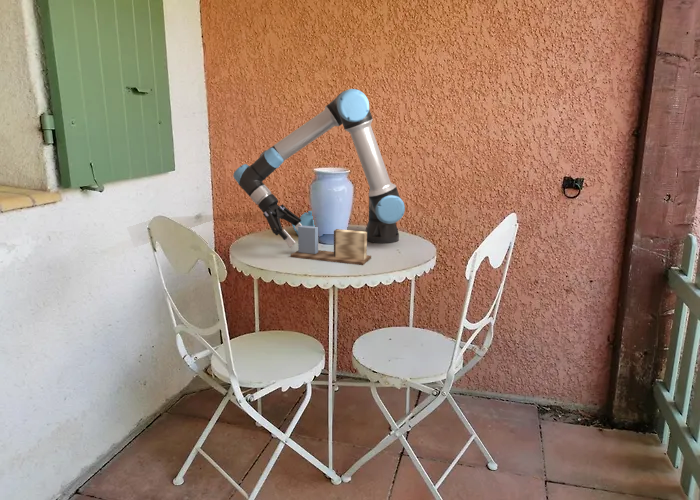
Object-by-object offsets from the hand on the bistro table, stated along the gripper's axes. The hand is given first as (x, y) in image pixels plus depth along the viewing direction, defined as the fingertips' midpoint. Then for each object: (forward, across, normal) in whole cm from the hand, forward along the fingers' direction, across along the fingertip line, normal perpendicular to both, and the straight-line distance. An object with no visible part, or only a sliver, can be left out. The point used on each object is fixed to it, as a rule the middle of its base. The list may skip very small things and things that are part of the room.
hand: (300, 240), depth 210 cm
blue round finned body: (-3, -33, -11) cm, 35 cm away
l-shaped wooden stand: (+13, 0, +5) cm, 14 cm away
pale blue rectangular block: (+5, 0, -1) cm, 5 cm away
